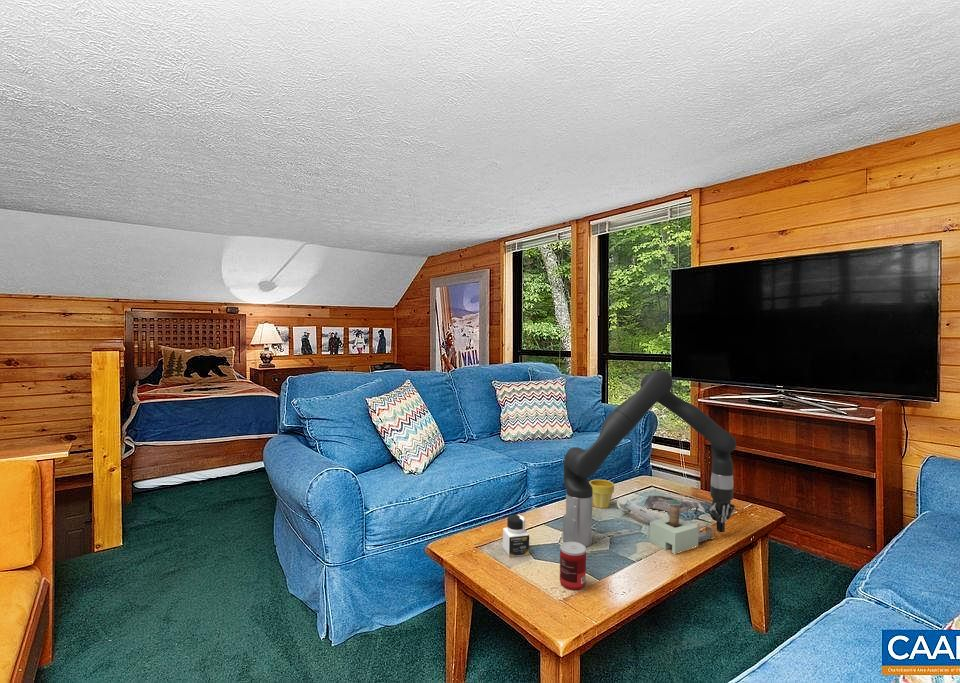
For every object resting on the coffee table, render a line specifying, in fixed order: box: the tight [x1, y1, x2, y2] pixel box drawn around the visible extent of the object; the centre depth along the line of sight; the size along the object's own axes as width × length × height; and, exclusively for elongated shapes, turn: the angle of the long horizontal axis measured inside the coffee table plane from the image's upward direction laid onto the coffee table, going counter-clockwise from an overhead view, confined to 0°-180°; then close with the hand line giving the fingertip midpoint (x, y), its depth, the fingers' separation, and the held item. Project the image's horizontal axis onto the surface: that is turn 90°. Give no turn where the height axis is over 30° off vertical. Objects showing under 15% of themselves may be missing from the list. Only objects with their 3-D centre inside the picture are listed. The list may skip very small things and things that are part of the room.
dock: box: [648, 516, 700, 554], centre depth 172 cm, size 12×11×7 cm
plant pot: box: [589, 479, 615, 509], centre depth 209 cm, size 10×10×10 cm
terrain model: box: [643, 495, 699, 513], centre depth 208 cm, size 20×15×3 cm
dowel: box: [668, 506, 680, 528], centre depth 172 cm, size 3×3×10 cm
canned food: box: [559, 542, 587, 591], centre depth 145 cm, size 8×8×11 cm
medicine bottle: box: [502, 514, 530, 558], centre depth 165 cm, size 7×7×12 cm
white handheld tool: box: [616, 496, 664, 523], centre depth 190 cm, size 5×7×25 cm
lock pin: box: [698, 524, 716, 543], centre depth 175 cm, size 13×2×4 cm, turn 119°
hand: (720, 531), depth 180 cm, fingers closed
